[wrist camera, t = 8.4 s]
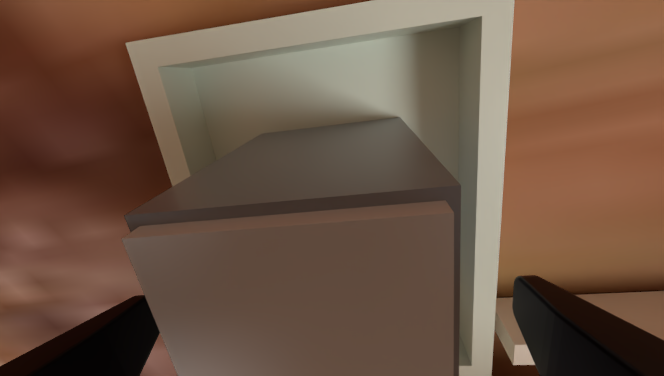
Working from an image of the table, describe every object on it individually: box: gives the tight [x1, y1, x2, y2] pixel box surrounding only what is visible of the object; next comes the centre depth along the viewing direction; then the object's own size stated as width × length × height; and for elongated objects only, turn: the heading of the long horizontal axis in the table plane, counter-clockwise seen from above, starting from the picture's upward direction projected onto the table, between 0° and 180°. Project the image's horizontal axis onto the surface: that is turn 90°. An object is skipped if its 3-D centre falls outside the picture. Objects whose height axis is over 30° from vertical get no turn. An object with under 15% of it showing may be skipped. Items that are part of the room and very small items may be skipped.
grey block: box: [122, 117, 461, 376], centre depth 9 cm, size 5×7×7 cm
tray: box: [125, 0, 514, 376], centre depth 11 cm, size 10×14×2 cm
